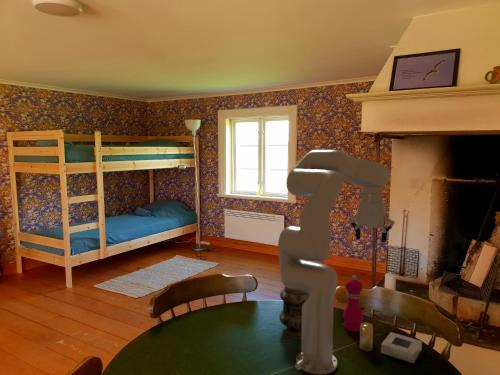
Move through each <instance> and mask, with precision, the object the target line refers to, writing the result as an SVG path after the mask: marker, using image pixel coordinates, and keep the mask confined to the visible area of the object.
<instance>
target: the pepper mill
mask: <svg viewBox="0 0 500 375" xmlns="http://www.w3.org/2000/svg"><path fill="white" fill-rule="evenodd" d="M345 289H346V291H347V292H346V296H347V304H346V305H345V308H344V310H343V313H342V318H343V319H344V324H343V326H344V328H345V329H346V330H347V331H349V332H360V324H361V323H363V322H364V321H363V320H364V313H363V310H362V309H361V305H360V298H361V295H362V293H361V292H362V291H363V284H362V281H361V280H359V279H358V277H357V275H356V274H355V275H352V276H351V278H350V279H348V280H347V281H346V283H345Z"/></svg>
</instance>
